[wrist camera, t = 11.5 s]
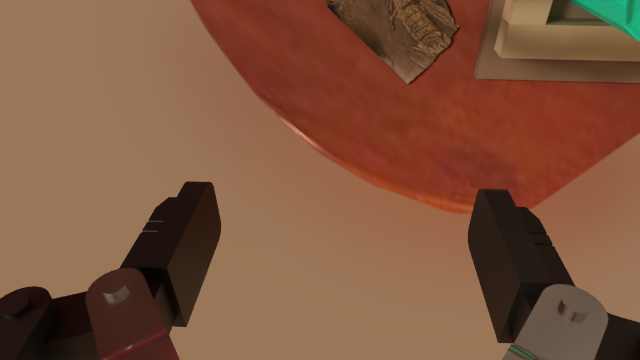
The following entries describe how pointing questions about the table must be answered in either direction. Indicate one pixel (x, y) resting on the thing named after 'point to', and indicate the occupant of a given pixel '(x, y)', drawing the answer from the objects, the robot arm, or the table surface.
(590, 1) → the candle
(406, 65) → the wooden fragment
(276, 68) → the table surface
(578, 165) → the table surface
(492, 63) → the board
